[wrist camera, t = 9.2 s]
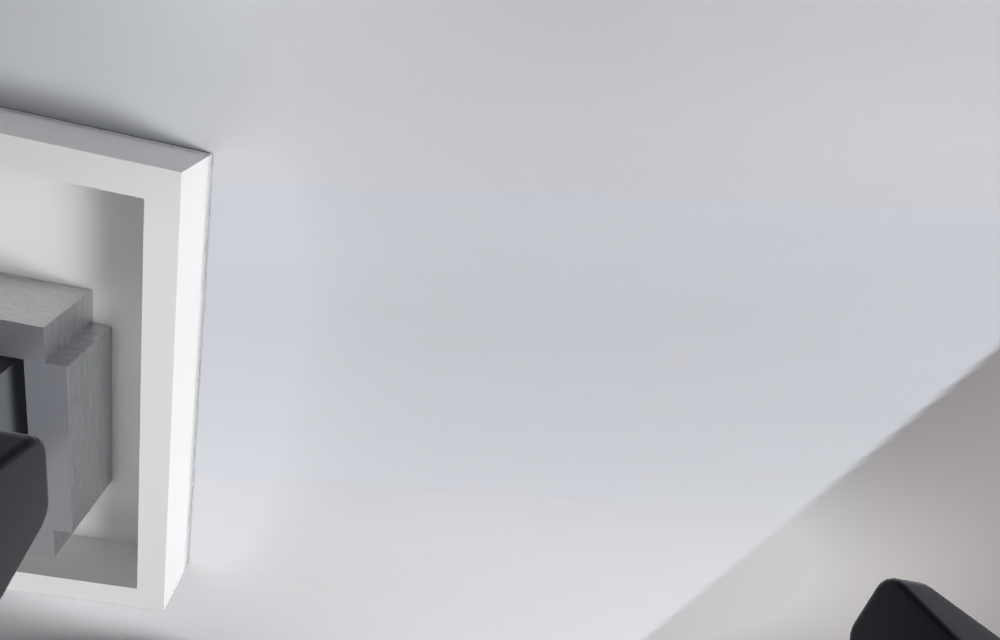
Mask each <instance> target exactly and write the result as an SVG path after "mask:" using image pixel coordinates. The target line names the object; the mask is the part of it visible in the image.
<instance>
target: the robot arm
mask: <svg viewBox="0 0 1000 640" xmlns="http://www.w3.org/2000/svg"><path fill="white" fill-rule="evenodd" d="M48 504H49V497H48V478H47V459H46V449H45V445H44V443H43V441H42V440H41V439H40V438H38V437H37V436H34V435H28V434H22V433H16V432H10V431H4V430H0V599H1V597H2V596H3V594H4V592H5V590H6V589H7V587H8V585H9V583H10V582H11V580H12V578H13V576H14V575H15V573H16V571H17V569H18V568H19V566H20V564H21V562H22V561H23V559H24V557H25V555H26V554H27V552H28V550H29V548H30V547H31V545H32V543H33V541H34V540H35V538H36V536H37V534H38V533H39V531H40V529H41V527H42V525H43V523H44V520H45V518H46V514H47V511H48ZM850 640H1000V638H999V637H998V636H996V635H995V634H993V633H992V632H991V631H989V630H988V629H987V628H985V627H984V626H982V625H981V624H980V623H978V622H977V621H976V620H974V619H973V618H971V617H970V616H969V615H967V614H966V613H965V612H963V611H962V610H960V609H959V608H958V607H956V606H955V605H954V604H952V603H951V602H950V601H948V600H947V599H945V598H944V597H943V596H941V595H940V594H939V593H937V592H936V591H934V590H933V589H932V588H930V587H929V586H927V585H924V584H922V583H919V582H914V581H908V580H901V579H895V578H892V579H886V580H885V581H883V582H881V583H880V584H879V585H878V587H877V588H876V590H875V591H874V593H873V595H872V596H871V598H870V599H869V601H868V602H867V604H866V606H865V607H864V609H863V610H862V612H861V613H860V615H859V616H858V618H857V620H856V621H855V623H854V625H853V627H852V630H851V633H850Z"/></svg>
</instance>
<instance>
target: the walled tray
mask: <svg viewBox="0 0 1000 640" xmlns="http://www.w3.org/2000/svg"><path fill="white" fill-rule="evenodd" d="M212 155H213V154H211V153H206V152H202V151H197V150H193V149H188V148H184V147H179V146H175V145H170V144H166V143H161V142H157V141H152V140H148V139H143V138H139V137H134V136H130V135H125V134H121V133H116V132H112V131H107V130H103V129H98V128H94V127H89V126H85V125H80V124H76V123H71V122H67V121H62V120H58V119H53V118H49V117H44V116H40V115H35V114H30V113H26V112H21V111H17V110H12V109H8V108H3V107H0V272H4V273H9V274H14V275H19V276H24V277H29V278H35V279H40V280H45V281H50V282H55V283H60V284H66V285H71V286H76V287H81V288H86V289H91V290H92V296H93V323H98V324H104V325H109V326H112V481H111V482H110V484H109V485H108V486H107V488H106V489H105V490H104V492H103V493H102V494H101V496H100V497H99V498H98V500H97V501H96V503H95V504H94V505H93V507H92V508H91V509H90V511H89V512H88V513H87V515H86V516H85V517H84V519H83V520H82V521H81V523H80V524H79V525H78V527H77V528H76V529H75V531H74V532H73V533H72V535H71V536H70V537H69V539H68V540H67V541H66V543H65V544H64V545H63V547H62V548H61V549H60V550H59V552H58V553H57V554H56V556H55V557H52V556H45V555H38V554H32V553H27V554H26V555H25V557H24V559H23V561H22V562H21V564H20V566H19V568H18V569H17V571H16V573H15V575H14V576H13V578H12V580H11V582H10V583H9V585H8V587H7V590H14V591H21V592H29V593H36V594H43V595H50V596H57V597H64V598H72V599H79V600H86V601H93V602H100V603H108V604H115V605H122V606H129V607H136V608H143V609H151V610H158V611H164V609H165V607H166V605H167V604H168V602H169V600H170V598H171V596H172V594H173V592H174V590H175V588H176V586H177V584H178V582H179V580H180V578H181V576H182V574H183V572H184V570H185V568H186V566H187V564H188V558H189V541H190V524H191V508H192V491H193V474H194V457H195V440H196V424H197V407H198V390H199V373H200V357H201V340H202V323H203V306H204V289H205V273H206V256H207V239H208V222H209V205H210V189H211V172H212Z"/></svg>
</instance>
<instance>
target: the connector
mask: <svg viewBox="0 0 1000 640" xmlns="http://www.w3.org/2000/svg"><path fill="white" fill-rule="evenodd" d="M0 430H4V431H10V432H16V433H22V434H28V422H27V407H26V391H25V376H24V360H23V359H18V358H13V357H7V356H2V355H0Z"/></svg>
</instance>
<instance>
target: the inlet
mask: <svg viewBox="0 0 1000 640" xmlns="http://www.w3.org/2000/svg"><path fill="white" fill-rule="evenodd" d="M0 355H2V356H7V357H13V358H18V359H23V360H24V376H25V391H26V407H27V422H28V435H34V436H37V437H38V438H40V439H41V440H42V441H43V443H44V445H45V449H46V459H47V478H48V497H49V504H48V511H47V514H46V518H45V520H44V523H43V525H42V527H41V529H40V531H39V533H38V534H37V536H36V538H35V540H34V541H33V543H32V545H31V547H30V548H29V550H28V552H27V553H32V554H38V555H45V556H52V557H55V556H56V554H57V553H58V552H59V550H60V549H61V548H62V547H63V545H64V544H65V543H66V541H67V540H68V539H69V537H70V536H71V535H72V533H73V532H74V531H75V529H76V528H77V527H78V525H79V524H80V523H81V521H82V520H83V519H84V517H85V516H86V515H87V513H88V512H89V511H90V509H91V508H92V507H93V505H94V504H95V503H96V501H97V500H98V498H99V497H100V496H101V494H102V493H103V492H104V490H105V489H106V488H107V486H108V485H109V484H110V482H111V481H112V326H109V325H104V324H98V323H93V296H92V290H91V289H86V288H81V287H76V286H71V285H66V284H60V283H55V282H50V281H45V280H40V279H35V278H29V277H24V276H19V275H14V274H9V273H4V272H0Z"/></svg>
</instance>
